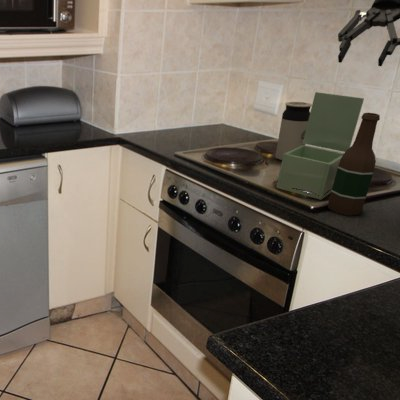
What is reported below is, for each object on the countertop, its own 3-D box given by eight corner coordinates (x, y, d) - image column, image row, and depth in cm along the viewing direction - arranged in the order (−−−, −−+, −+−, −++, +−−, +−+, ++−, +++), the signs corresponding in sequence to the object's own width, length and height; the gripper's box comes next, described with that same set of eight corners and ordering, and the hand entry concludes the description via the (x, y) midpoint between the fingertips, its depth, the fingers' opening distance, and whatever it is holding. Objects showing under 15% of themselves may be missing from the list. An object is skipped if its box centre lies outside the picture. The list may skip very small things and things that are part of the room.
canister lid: (363, 98, 123) (364, 98, 124) (315, 92, 131) (316, 92, 131) (347, 152, 128) (348, 152, 129) (302, 143, 136) (303, 142, 137)
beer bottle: (355, 205, 121) (383, 111, 112) (367, 217, 114) (398, 118, 105) (321, 202, 123) (346, 109, 113) (331, 214, 116) (359, 116, 106)
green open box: (321, 200, 124) (330, 164, 120) (275, 187, 132) (283, 153, 128) (338, 187, 133) (347, 153, 129) (295, 176, 140) (302, 144, 136)
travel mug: (269, 157, 158) (278, 102, 152) (287, 154, 161) (297, 100, 154) (289, 163, 151) (299, 106, 145) (308, 160, 154) (319, 104, 147)
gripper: (438, 10, 130) (406, 74, 126) (349, 8, 145) (317, 66, 141) (441, -12, 125) (407, 55, 121) (348, -12, 139) (315, 48, 135)
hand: (359, 60), depth 131 cm, fingers open, 9 cm apart
